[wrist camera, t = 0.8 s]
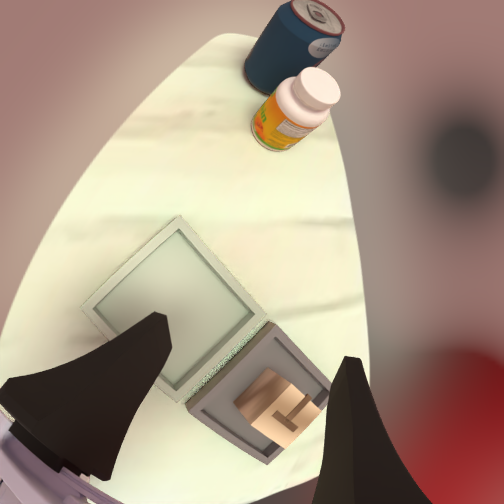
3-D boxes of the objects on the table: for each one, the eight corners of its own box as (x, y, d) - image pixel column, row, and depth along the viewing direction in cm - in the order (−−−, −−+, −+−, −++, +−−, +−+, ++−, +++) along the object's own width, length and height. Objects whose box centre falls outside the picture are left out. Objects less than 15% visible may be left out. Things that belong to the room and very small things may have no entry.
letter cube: (264, 426, 26) (285, 449, 22) (232, 402, 25) (251, 425, 21) (298, 391, 28) (324, 409, 23) (269, 365, 27) (294, 381, 22)
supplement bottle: (255, 103, 29) (296, 51, 20) (297, 120, 31) (347, 78, 22) (245, 142, 28) (289, 93, 19) (291, 159, 30) (346, 121, 21)
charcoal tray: (260, 457, 26) (267, 465, 24) (184, 403, 24) (187, 411, 22) (329, 386, 30) (338, 390, 28) (268, 321, 28) (276, 324, 26)
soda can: (297, 104, 31) (358, 48, 20) (242, 94, 28) (291, 24, 17) (290, 63, 31) (340, 6, 20) (239, 52, 29) (281, -16, 18)
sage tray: (174, 394, 24) (176, 402, 22) (84, 305, 22) (79, 307, 20) (259, 311, 27) (267, 313, 26) (177, 218, 25) (180, 214, 24)
